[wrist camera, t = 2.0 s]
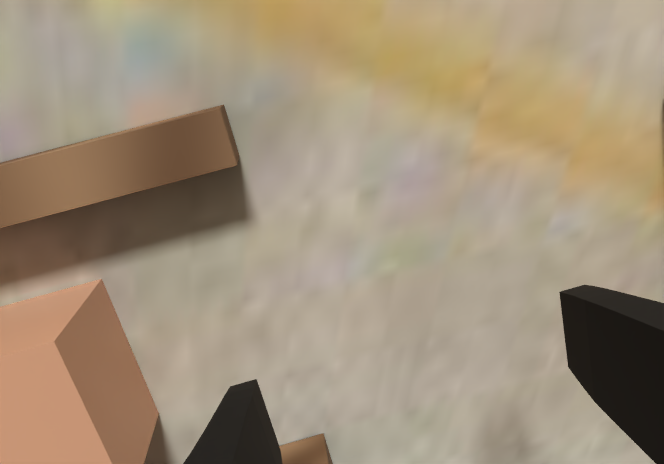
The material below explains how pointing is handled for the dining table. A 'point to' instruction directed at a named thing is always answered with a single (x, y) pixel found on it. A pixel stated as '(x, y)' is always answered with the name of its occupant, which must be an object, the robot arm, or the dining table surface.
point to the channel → (129, 186)
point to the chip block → (71, 382)
